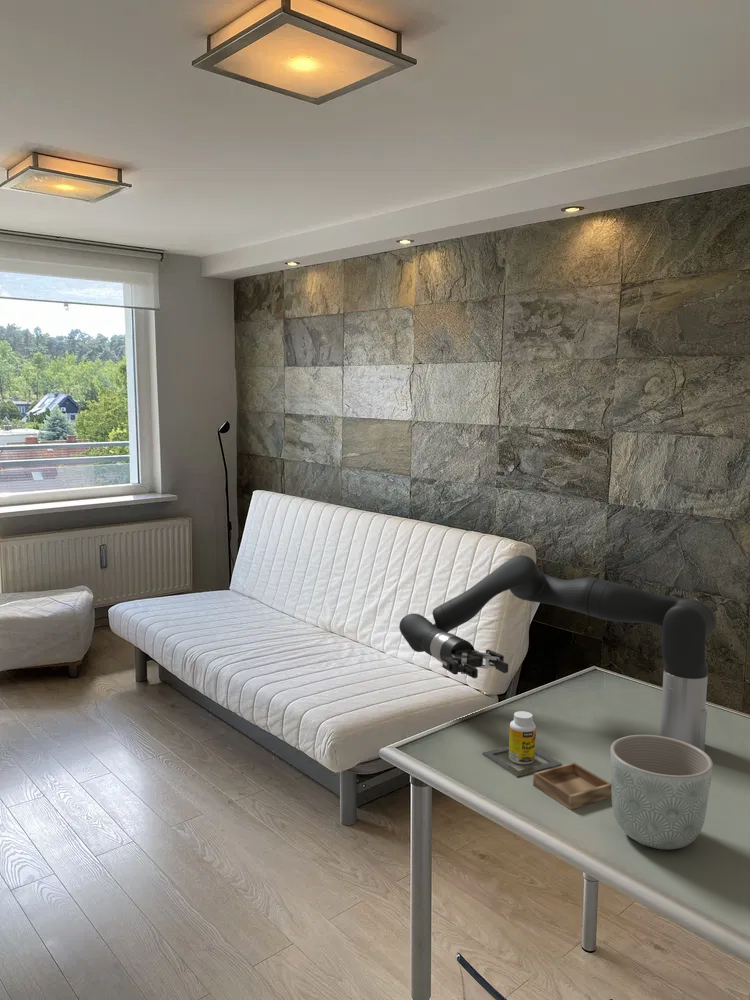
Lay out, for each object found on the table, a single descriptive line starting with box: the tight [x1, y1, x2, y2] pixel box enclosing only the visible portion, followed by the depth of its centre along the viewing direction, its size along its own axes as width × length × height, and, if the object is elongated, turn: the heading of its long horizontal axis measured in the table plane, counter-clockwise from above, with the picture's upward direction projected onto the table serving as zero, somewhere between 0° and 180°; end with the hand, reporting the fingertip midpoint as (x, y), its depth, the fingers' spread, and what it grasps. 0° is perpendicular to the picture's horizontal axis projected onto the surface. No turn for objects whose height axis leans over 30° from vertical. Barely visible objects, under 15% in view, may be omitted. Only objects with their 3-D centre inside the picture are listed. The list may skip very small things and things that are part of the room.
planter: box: [609, 734, 714, 850], centre depth 136 cm, size 17×17×15 cm
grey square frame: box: [482, 745, 563, 778], centre depth 166 cm, size 12×12×1 cm
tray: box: [532, 762, 612, 810], centre depth 152 cm, size 11×11×3 cm
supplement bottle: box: [508, 710, 537, 765], centre depth 165 cm, size 6×6×10 cm
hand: (491, 671), depth 174 cm, fingers open, 8 cm apart
